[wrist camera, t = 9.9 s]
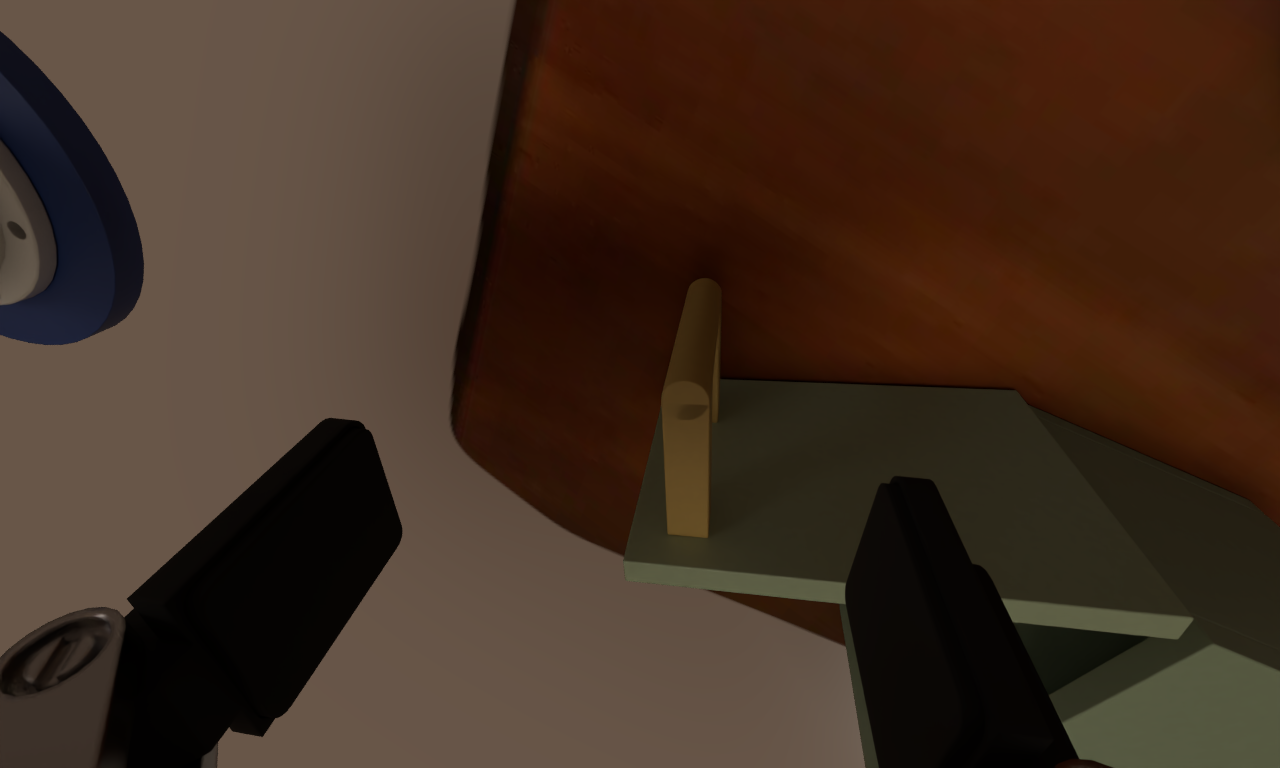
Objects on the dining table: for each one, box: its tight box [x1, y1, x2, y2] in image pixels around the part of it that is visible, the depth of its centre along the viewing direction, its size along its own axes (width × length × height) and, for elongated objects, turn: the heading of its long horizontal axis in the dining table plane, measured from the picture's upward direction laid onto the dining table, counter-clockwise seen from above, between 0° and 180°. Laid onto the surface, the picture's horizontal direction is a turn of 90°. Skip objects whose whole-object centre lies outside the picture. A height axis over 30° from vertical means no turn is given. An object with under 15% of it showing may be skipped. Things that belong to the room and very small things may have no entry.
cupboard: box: [839, 405, 1280, 768], centre depth 24 cm, size 12×16×12 cm
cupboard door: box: [623, 278, 1193, 639], centre depth 20 cm, size 7×16×12 cm, turn 93°
